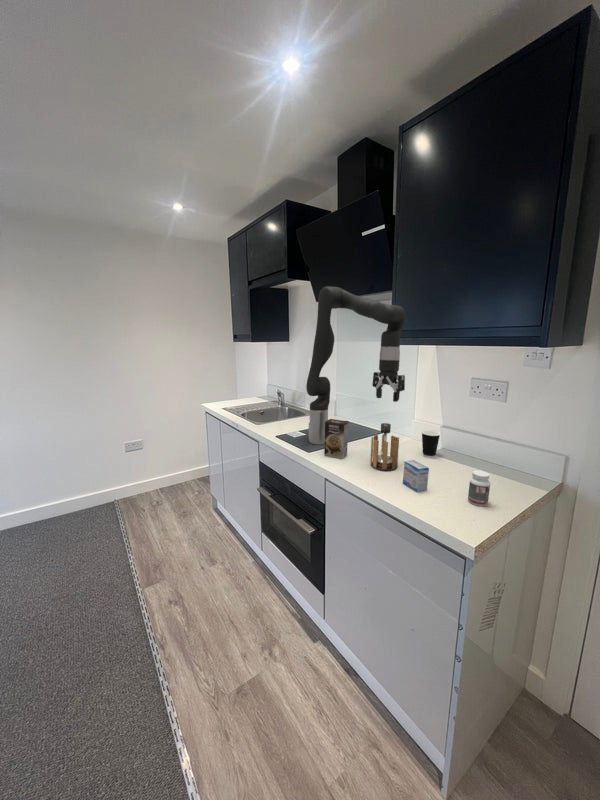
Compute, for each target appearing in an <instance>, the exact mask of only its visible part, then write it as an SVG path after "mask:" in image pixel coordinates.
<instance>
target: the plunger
mask: <svg viewBox="0 0 600 800" xmlns="http://www.w3.org/2000/svg"><path fill="white" fill-rule="evenodd" d="M391 425H392V424H391V423H386V422H383V423H381V424H380V433H382V434H384V440H383V442H388V441H387V440H388V437H387V436H388V434H390V433H391V428H392V427H391ZM382 458H383V455H381V454H378V463H380V464H382ZM391 460H392V457H390V455H387V464H391Z"/></svg>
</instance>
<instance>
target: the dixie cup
mask: <svg viewBox="0 0 600 800" xmlns="http://www.w3.org/2000/svg"><path fill="white" fill-rule="evenodd" d="M441 435H442V434H441V432H439V431H436V430H432V429H431V430H430V429H425V430H422V431H421V436H422V437H421V441H422V444H421V445H422V455H423V457H424V458H427V459H428V458H429V459H434V458H435V457H436V454H437V450H438V446H439V440H440V436H441Z"/></svg>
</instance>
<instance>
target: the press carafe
mask: <svg viewBox="0 0 600 800" xmlns="http://www.w3.org/2000/svg"><path fill="white" fill-rule="evenodd" d="M383 440H384V433H382V435H381V449H380V450H381V451H380V452H381V453H380V455H383V458H382V464H380V463H378V455H379V442H380V441H379V435H378V434H374V435H373V436H371V442H370V443H371V444H370V460H369V461H370V467H371V468H372V469H374V470H376V471H380V472H381V471H382V472H394V471H395V470H397V468H398V466H399V465H398V462H399V461H398V460H399V444H400V437H398V436H394V435H391V436H390V453H389V452H388V451H389V441H386V442H383ZM388 453H389V455H388ZM387 456H390V457H392V460H391V464H387Z"/></svg>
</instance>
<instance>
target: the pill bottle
mask: <svg viewBox="0 0 600 800" xmlns="http://www.w3.org/2000/svg"><path fill="white" fill-rule="evenodd" d="M471 474H472V477H471V478H470V479H469V482H468V483H469V485H468V492H467V493H468V495H467V496H468V497H467V501H468V502H469V503H470V504H472V505H474V506H478V507H485V506H488V504H489V498H490V497H489V496H490V489H491V482H490V473H488V472H486V471H484V470H473V471H472V472H471Z"/></svg>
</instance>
